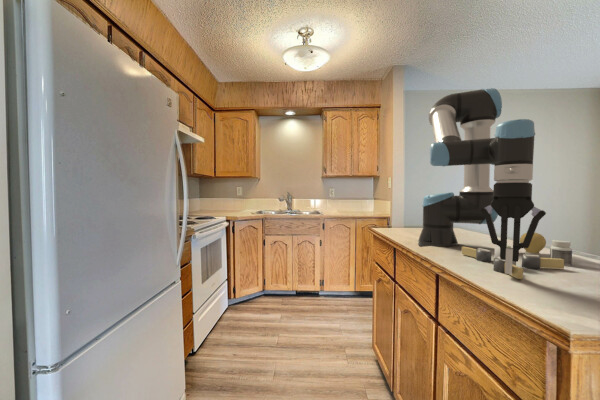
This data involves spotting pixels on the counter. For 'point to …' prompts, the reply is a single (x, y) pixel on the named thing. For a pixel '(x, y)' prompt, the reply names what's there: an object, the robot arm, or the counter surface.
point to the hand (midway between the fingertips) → (508, 272)
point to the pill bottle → (561, 251)
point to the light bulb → (534, 244)
